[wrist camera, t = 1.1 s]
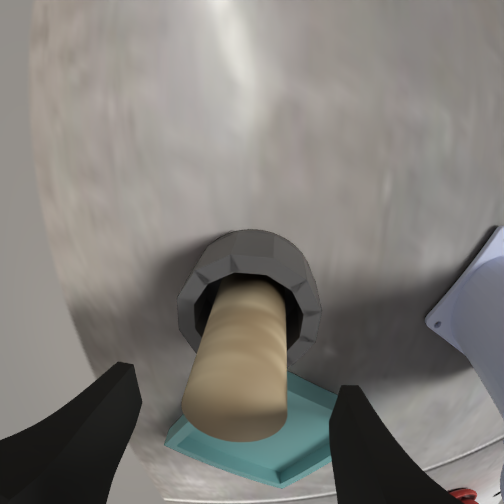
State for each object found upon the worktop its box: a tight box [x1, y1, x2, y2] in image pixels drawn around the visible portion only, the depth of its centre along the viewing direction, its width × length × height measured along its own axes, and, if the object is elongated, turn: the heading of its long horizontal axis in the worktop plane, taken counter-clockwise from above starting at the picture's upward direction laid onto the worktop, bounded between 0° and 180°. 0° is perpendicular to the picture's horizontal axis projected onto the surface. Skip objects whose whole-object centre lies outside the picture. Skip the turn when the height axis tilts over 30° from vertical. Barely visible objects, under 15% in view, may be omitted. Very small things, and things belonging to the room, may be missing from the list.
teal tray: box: [164, 371, 338, 489], centre depth 22 cm, size 12×12×2 cm
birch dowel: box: [181, 272, 287, 442], centre depth 14 cm, size 4×4×8 cm
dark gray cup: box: [177, 229, 322, 367], centre depth 16 cm, size 7×7×4 cm
